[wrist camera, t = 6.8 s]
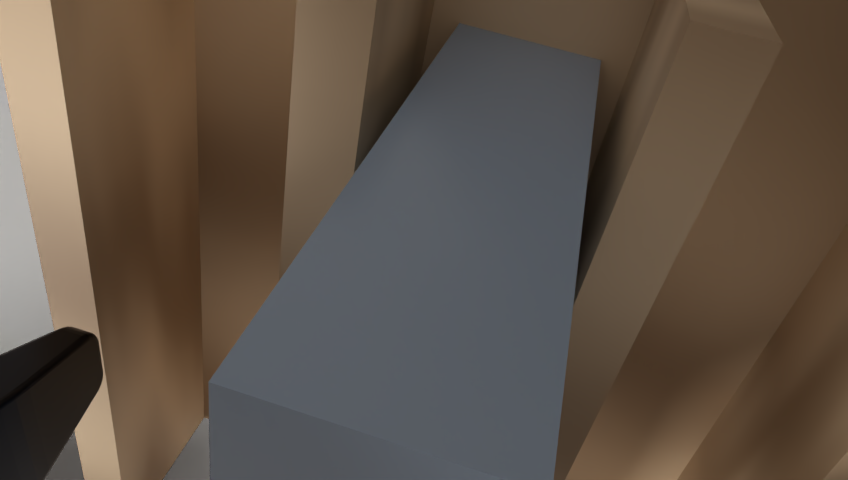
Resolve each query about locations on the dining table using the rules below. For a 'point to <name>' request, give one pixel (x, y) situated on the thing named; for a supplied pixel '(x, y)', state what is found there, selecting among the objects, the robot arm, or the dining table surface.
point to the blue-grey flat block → (428, 289)
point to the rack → (354, 138)
